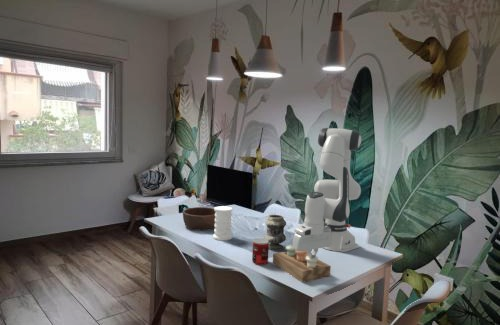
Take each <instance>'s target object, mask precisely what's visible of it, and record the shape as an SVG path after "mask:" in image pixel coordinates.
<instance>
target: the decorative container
mask: <svg viewBox="0 0 500 325" xmlns="http://www.w3.org/2000/svg"><path fill="white" fill-rule="evenodd" d="M213 208H214V211H215V225H214V226H215V228H214V234H212V239H214V240H216V241H223V242H224V241H230V240H232V238H233V235H232V234H231V232H232V229H231V228H232V214H233V213H232V212H233V207H231V206H226V205H225V206H224V205H221V206H215V207H213Z"/></svg>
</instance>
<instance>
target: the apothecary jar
mask: <svg viewBox="0 0 500 325" xmlns="http://www.w3.org/2000/svg"><path fill="white" fill-rule="evenodd" d="M264 224H265V225H266V233H265V234H264V238H263V239H266V240H268V241H269V250H271V249H272V250H273V251H280V250H283V249H284V245H282V243H284V242H285V241H286V239H287V237H286V235H285V227H286V226H287V220H285V219H284V216H283V215H282V214H269V215H268V217H267V219H266V220H265V223H264ZM272 250H271V251H272Z"/></svg>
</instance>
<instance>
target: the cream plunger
mask: <svg viewBox="0 0 500 325" xmlns="http://www.w3.org/2000/svg"><path fill="white" fill-rule="evenodd" d="M318 260H319V258H318V256H316V258H311V259H310V258H308V256H306V261H307V267H309V268H315V267H316V262H317V261H318Z"/></svg>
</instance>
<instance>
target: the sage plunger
mask: <svg viewBox="0 0 500 325" xmlns="http://www.w3.org/2000/svg"><path fill="white" fill-rule="evenodd" d="M285 250H286V251H287V255H288V256H295V250H294V249H293V244H292V245H286V246H285Z"/></svg>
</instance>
